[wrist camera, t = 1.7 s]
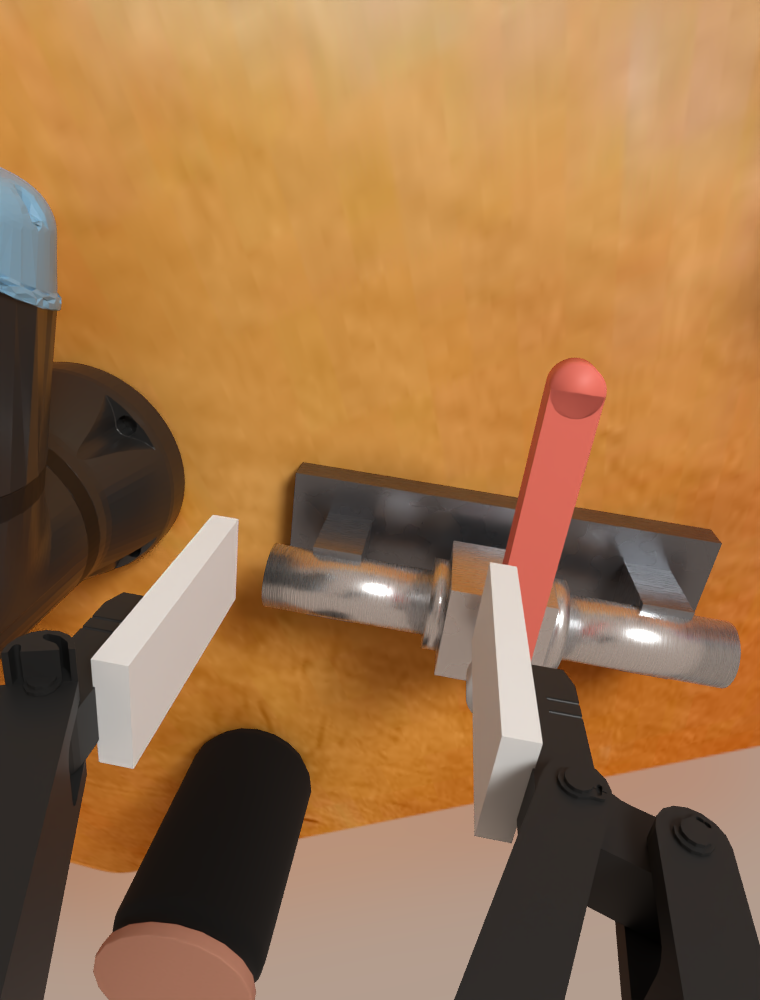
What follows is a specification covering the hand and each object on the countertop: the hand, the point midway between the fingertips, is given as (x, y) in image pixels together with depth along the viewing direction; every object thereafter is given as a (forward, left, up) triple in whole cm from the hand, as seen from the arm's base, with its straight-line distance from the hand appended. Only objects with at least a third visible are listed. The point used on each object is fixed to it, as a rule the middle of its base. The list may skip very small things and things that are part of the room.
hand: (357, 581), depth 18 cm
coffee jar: (-9, -37, -25) cm, 46 cm away
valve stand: (+7, -12, -25) cm, 29 cm away
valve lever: (+7, -4, -12) cm, 15 cm away
